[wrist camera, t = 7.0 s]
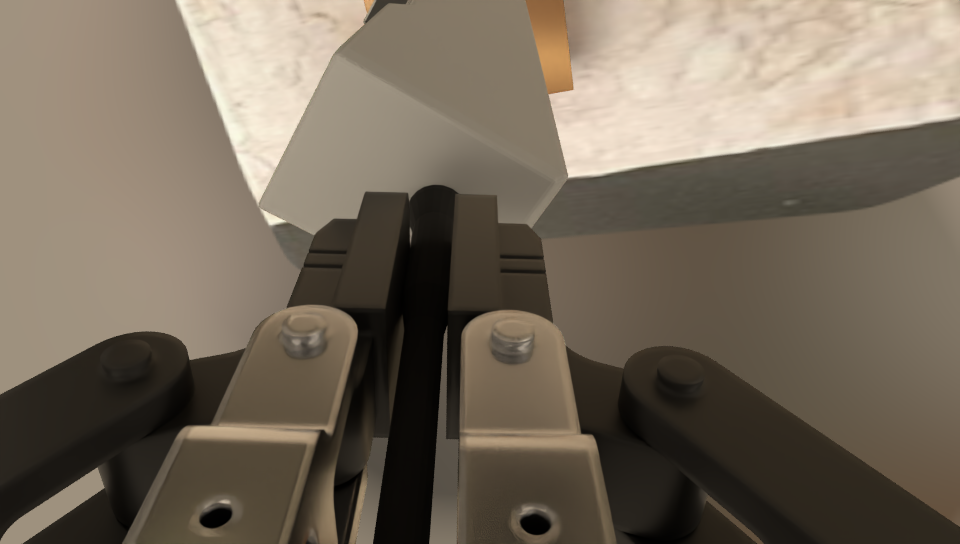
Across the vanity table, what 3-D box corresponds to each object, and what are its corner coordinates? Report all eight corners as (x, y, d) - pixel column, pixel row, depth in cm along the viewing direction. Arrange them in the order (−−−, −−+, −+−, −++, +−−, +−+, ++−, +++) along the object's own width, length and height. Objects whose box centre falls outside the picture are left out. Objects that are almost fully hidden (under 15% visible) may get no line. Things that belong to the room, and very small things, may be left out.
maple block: (359, -86, 40) (344, -74, 36) (542, -123, 39) (550, -115, 35) (402, 92, 45) (394, 121, 41) (564, 63, 44) (573, 89, 40)
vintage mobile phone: (412, -76, 27) (161, 333, 6) (525, -2, 28) (662, 549, 7) (366, 14, 29) (41, 587, 7) (475, 80, 30) (464, 722, 9)
